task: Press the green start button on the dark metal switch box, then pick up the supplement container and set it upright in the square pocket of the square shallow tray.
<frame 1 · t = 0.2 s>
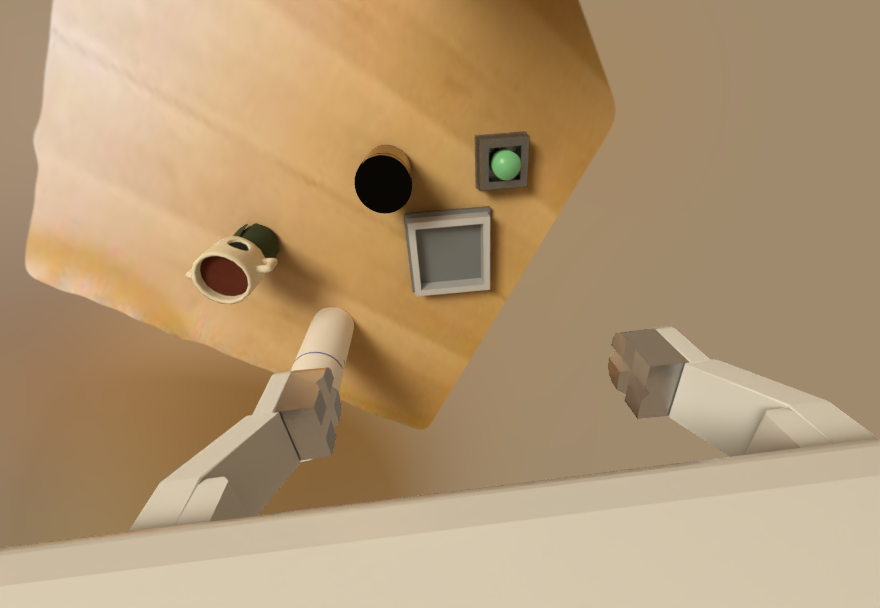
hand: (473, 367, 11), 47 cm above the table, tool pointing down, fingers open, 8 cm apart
character mug: (259, 241, 57), on the table
button housing: (499, 160, 53), on the table
cylindrical container: (333, 324, 65), on the table
start button: (505, 164, 50), point 4 cm above the table, slide at 0.0 cm
square shallow tray: (448, 249, 59), on the table
supplement container: (388, 169, 53), on the table
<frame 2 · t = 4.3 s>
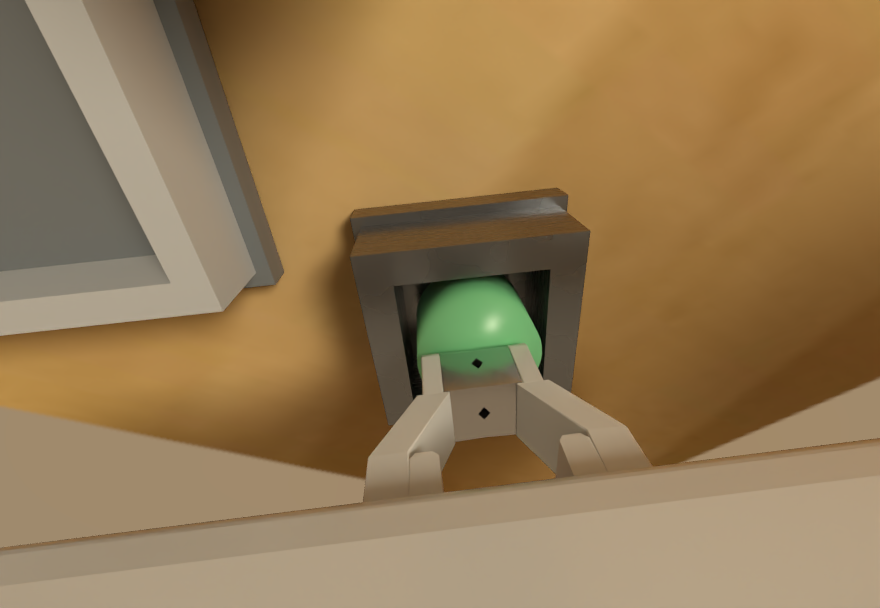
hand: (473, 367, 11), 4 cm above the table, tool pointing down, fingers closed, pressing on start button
button housing: (462, 288, 14), on the table
start button: (473, 334, 12), point 3 cm above the table, slide at 0.6 cm, touching gripper
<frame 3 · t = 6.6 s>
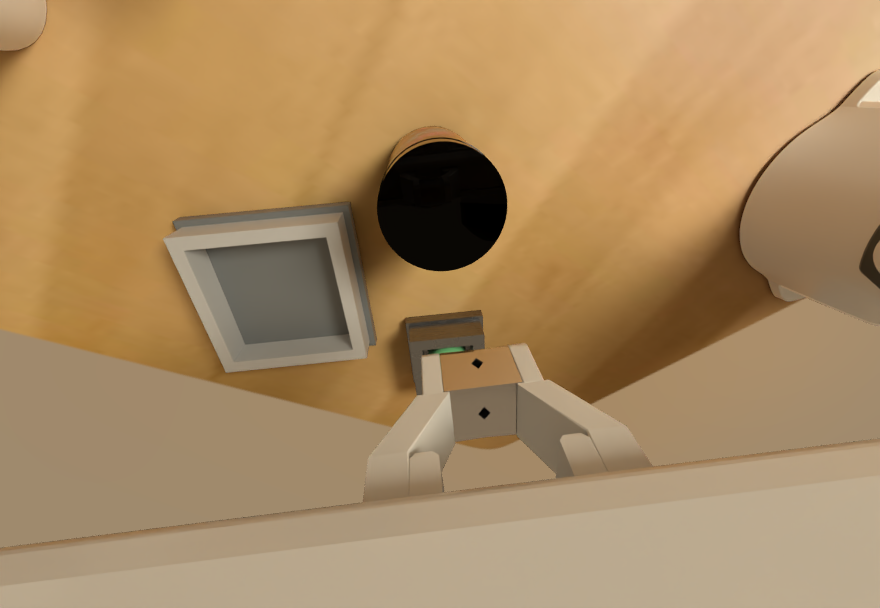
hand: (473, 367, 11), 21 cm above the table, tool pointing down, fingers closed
button housing: (445, 344, 36), on the table
start button: (448, 362, 33), point 3 cm above the table, slide at 0.9 cm
square shallow tray: (288, 284, 32), on the table
supplement container: (431, 173, 28), on the table
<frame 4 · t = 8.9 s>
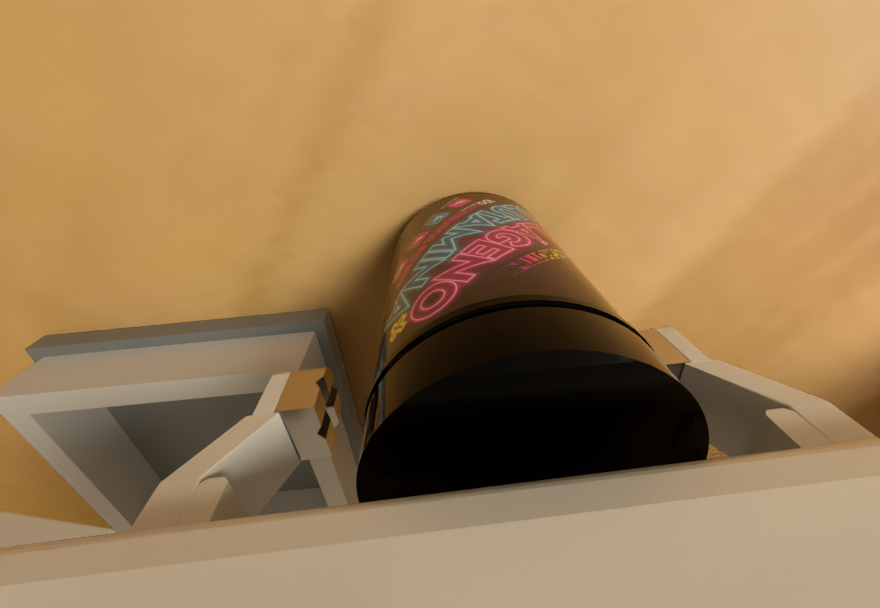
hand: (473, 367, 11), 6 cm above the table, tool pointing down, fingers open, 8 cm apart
square shallow tray: (237, 421, 20), on the table
supplement container: (468, 263, 16), on the table
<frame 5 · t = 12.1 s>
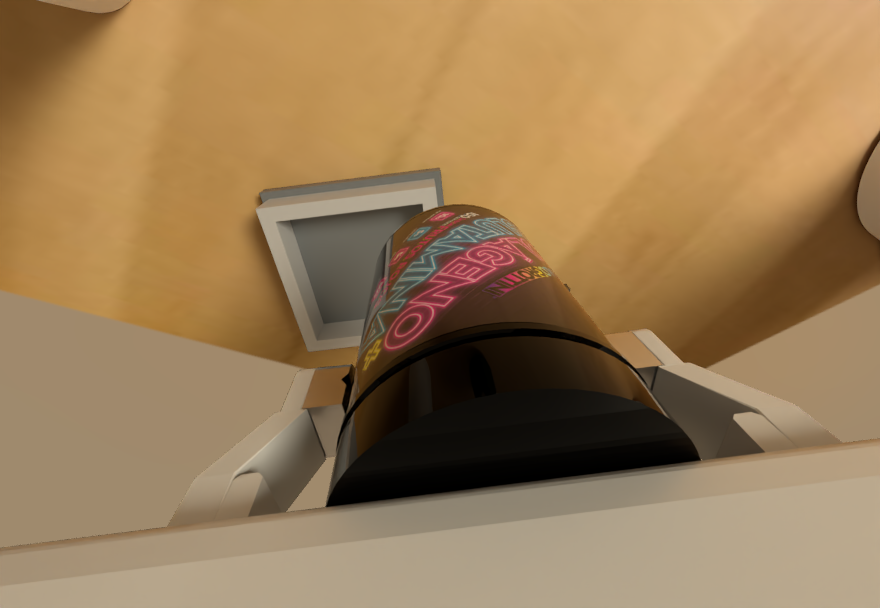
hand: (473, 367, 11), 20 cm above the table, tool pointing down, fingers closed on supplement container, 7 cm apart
square shallow tray: (369, 259, 30), on the table
supplement container: (453, 276, 16), point 14 cm above the table, touching gripper
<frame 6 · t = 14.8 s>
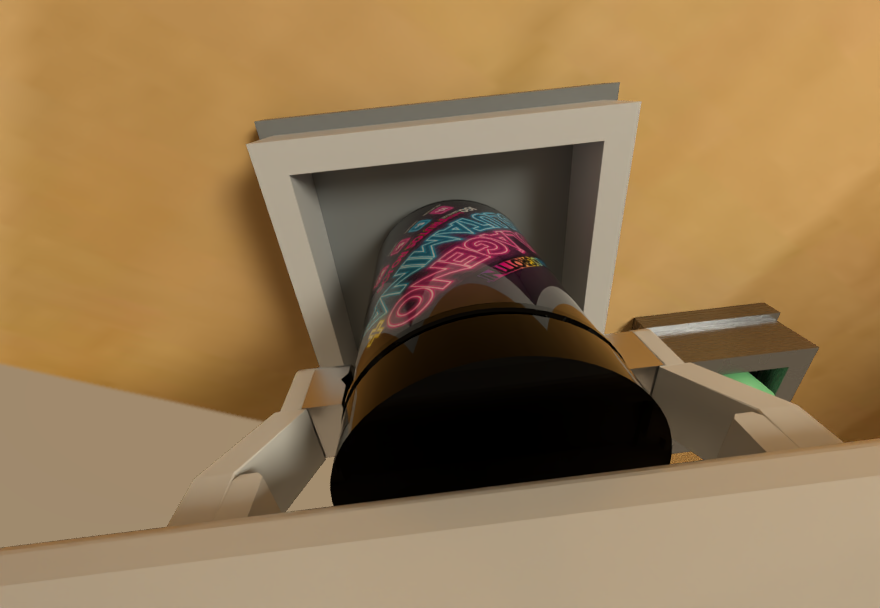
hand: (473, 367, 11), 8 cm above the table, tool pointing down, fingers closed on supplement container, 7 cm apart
button housing: (683, 361, 21), on the table
start button: (718, 396, 19), point 3 cm above the table, slide at 0.9 cm
square shallow tray: (450, 259, 17), on the table
supplement container: (451, 268, 17), point 1 cm above the table, touching gripper, square shallow tray
when the fingers open (7 cm above the table, at t = 15.5 s): supplement container stays where it is, resting on square shallow tray.
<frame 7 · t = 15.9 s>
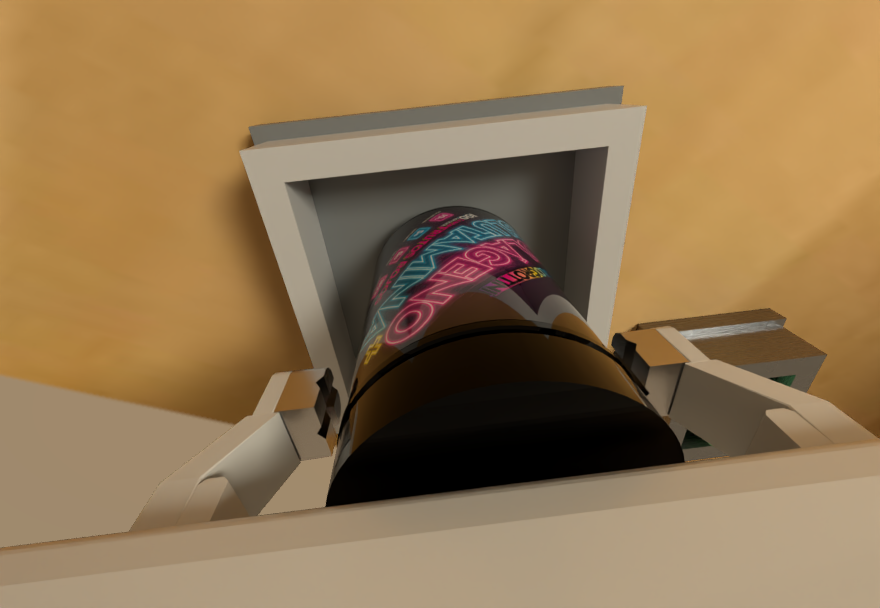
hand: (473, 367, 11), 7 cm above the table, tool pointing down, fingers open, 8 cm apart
button housing: (687, 368, 21), on the table
square shallow tray: (449, 266, 17), on the table
supplement container: (451, 275, 16), point 1 cm above the table, touching square shallow tray
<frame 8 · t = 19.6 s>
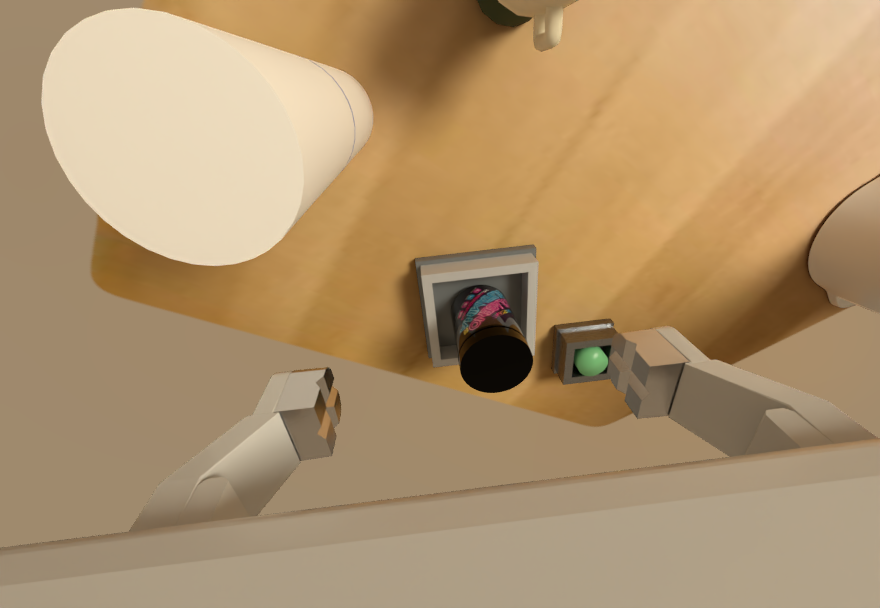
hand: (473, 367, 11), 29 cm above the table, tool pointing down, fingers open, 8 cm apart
button housing: (579, 344, 48), on the table
cylindrical container: (333, 114, 33), on the table
start button: (588, 358, 45), point 3 cm above the table, slide at 0.9 cm
square shallow tray: (477, 302, 43), on the table
supplement container: (478, 306, 43), point 1 cm above the table, touching square shallow tray
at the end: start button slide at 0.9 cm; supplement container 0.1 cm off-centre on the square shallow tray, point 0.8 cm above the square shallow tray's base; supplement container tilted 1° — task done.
